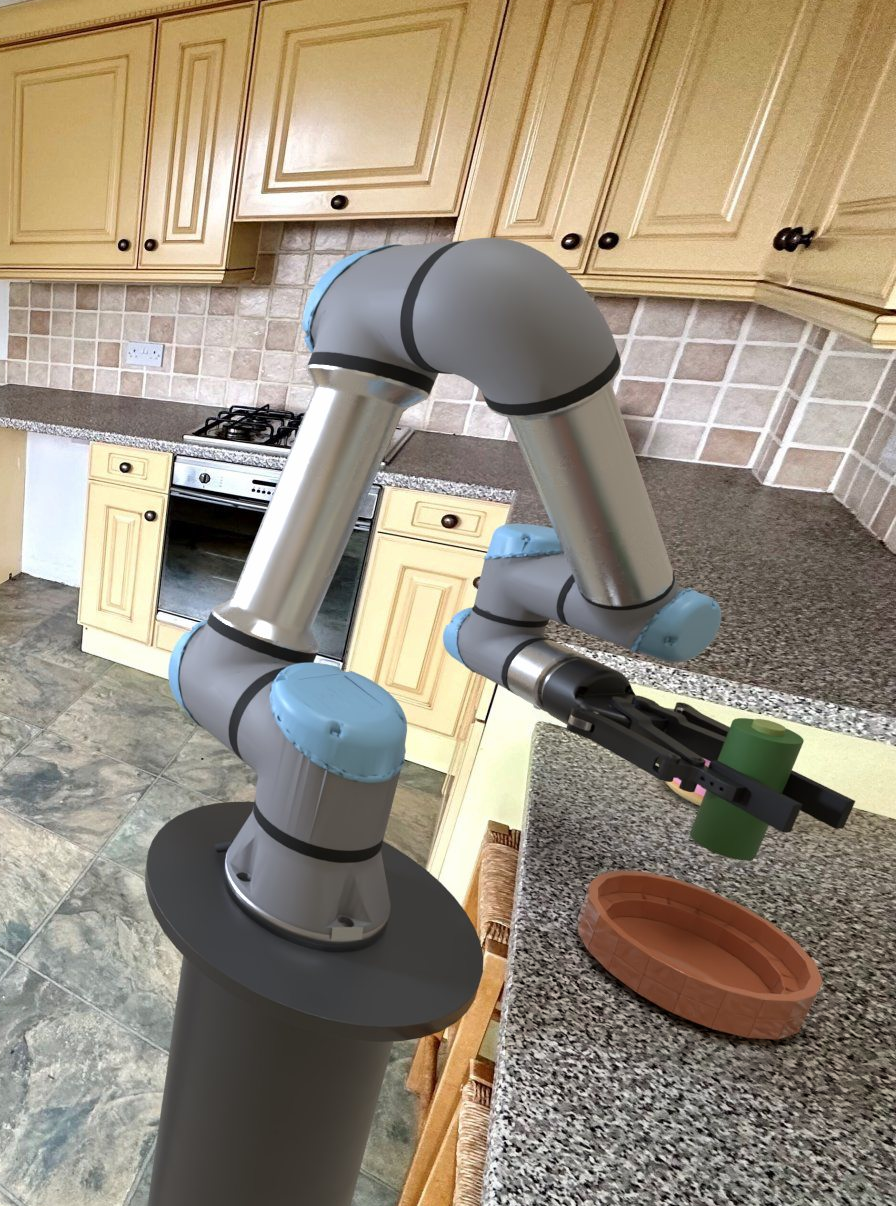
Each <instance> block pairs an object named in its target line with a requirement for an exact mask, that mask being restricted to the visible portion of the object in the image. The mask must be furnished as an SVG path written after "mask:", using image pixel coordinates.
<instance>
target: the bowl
mask: <svg viewBox="0 0 896 1206" xmlns="http://www.w3.org/2000/svg"><path fill="white" fill-rule="evenodd" d="M577 933H578V936H579V937H580V939H581V941H582V942H583V944H584V946H585V948H586V950H587V951H588V952H589V953H590V955H592V957H593V958H595V959H596V961H597V962H598V963H599V964H600V965H601V966H602V967H603V968H604V969H605V970H606V971H607V972H608V973H610V974H611V975H612V976H614V977H615V978H616V979H617V980H619V981H620V982H622V983H623V985H626V986H627V987H628V988H629V989H631V990H632V991H633V992H635V993H637V994H638V995H640V996H641V997H642V998H644V999H646V1000H648V1001H649V1002H651V1003H652V1004H654V1005H656V1006H657V1007H660V1008H661V1009H664V1010H665V1011H668V1012H670V1013H672V1014H673V1015H676V1016H678V1017H681V1018H683V1019H685V1020H687V1021H690V1022H692V1023H695V1024H698V1025H699V1026H703V1027H705V1028H708V1029H711V1030H715V1031H719V1032H723V1033H727V1034H731V1035H735V1036H739V1037H742V1038H745V1039H746V1038H747V1039H760V1040H762V1039H763V1040H782V1039H785V1038H787V1037H790V1036H793V1035H796V1034H798V1033H799V1032H800V1030H801V1029H802V1026H803V1024H804V1022H805V1020H806V1018H807V1016H808V1014H809V1012H810V1010H811V1008H812V1006H813V1004H814V1001H815V1000H816V997H817V995H818V993H819V991H820V989H821V987H822V985H823V978H822V976H821V973H820V971H819V968H818V965H817V963H816V962H815V961H814V960H813V959H812V957H811V955H809V954H808V953H807V952H806V950H805V949H804V948H803V947H802V946H801V945H800V944H799V943H798V942H797V941H796V940H795V939H794V938H792V937H791V936H790V935H788V934H787V933H786V932H784V931H783V930H782V929H780V928H779V927H778V926H777V925H775V924H774V923H773V922H771V921H769V920H767V919H766V918H764V917H763V916H761V915H759V914H757V913H756V912H754V911H753V910H751V909H749V908H747V907H746V906H743V905H742V904H739V903H738V902H736V901H733V900H731V899H729V898H727V897H725V896H722V895H720V894H718V893H716V892H713V891H711V890H709V889H707V888H705V887H701V886H698V885H696V884H692V883H689V882H686V881H683V880H680V879H677V878H674V877H671V876H667V875H661V874H658V873H657V874H656V873H652V872H646V871H641V870H639V871H638V870H618V869H617V870H612V871H608V872H604V873H603V872H602V873H600V874H598V875H597V876H596V877H595V878H594V879H593V880H592V881H590V882H589V884H588V887H587V889H586V892H585V896H584V898H583V901H582V904H581V907H580V910H579V913H578V916H577Z"/></svg>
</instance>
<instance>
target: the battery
mask: <svg viewBox="0 0 896 1206" xmlns="http://www.w3.org/2000/svg"><path fill="white" fill-rule="evenodd" d="M729 727H730V729H729V731H728V734H727V737H726V739H725V742H724V745H723V747H722V750H721V753H720V755H719V758H718V760H717V761H719V762H721V763H723V764H725V765H727V766H729V767H731V768H733V769H735V770H737V771H739V772H741V773H743V774H745V775H746V776H748V777H750V778H752V779H754V780H756V781H758V782H760V783H762V784H764V785H766V786H768V787H770V788H772V789H773V790H775V791H777V792H779V793H781V794H782V793H783V790H784V788H785V785H786V783H787V781H788V778H789V776H790V773H791V771H792V770H793V769H794V766H795V764H796V761H797V759H798V756H799V754H800V751H801V750H802V747H803V744H804V742H805V739H804V738H803V737H802V736H801V735H800V734H799V733H797V732H795V731H793V730H790V729H788V728H786V726H784V725H782V724H780V723H778V722H775V721H772V720H769V719H765V718H746V717H739V718H734V719H733V720H732V721H731V724H730V726H729ZM769 826H770V825H768V824H767V823H765V822H763V821H761V820H759V819H758V818H756V817H754V816H752V815H750V814H749V813H747V812H745V811H743V810H742V809H740V808H738V807H736V806H734V805H733V804H731V803H729V802H727V801H725V800H724V799H722V798H720V797H718V796H716V795H715V794H713V793H711V792H709V791H708V790H706V792H705V795H704V797H703V800H702V802H701V805H700V806H699V809H698V811H697V812H696V816H695V818H694V821H693V824H692V826H691V829H690V831H689V835H690V837H691V839H692V840H693V841H694V842H695V843H696V844H698V845H699V846H701V847H702V848H704V849H706V850H708V851H710V852H712V853H714V854H716V855H719V856H722V857H724V858H728V859H732V860H737V861H753V860H754V859H756V857H757V855H758V852H759V850H760V847H761V845H762V843H763V841H764V838H765V836H766V833H767V830H768V828H769Z"/></svg>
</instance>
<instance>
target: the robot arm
mask: <svg viewBox="0 0 896 1206" xmlns="http://www.w3.org/2000/svg"><path fill="white" fill-rule="evenodd" d="M301 322H302V323H301V325H302V326H301V327H302V331H304V332H305V334H306V335H305V336H304V337H303V339H304V343H305V345H306V347H307V349H308V350H309V352H310V353H311V355H310V357H309V360H308V362H307V365H306V368H305V371H306V373H307V375H308V376H309V379H310V380H311V383H312V384H313V393H312V395H311V397H310V399H309V402H308V405H307V407H306V410H305V412H304V414H303V417H302V420H301V422H300V425H299V427H298V429H297V432H296V435H295V437H294V440H293V442H292V445H291V447H290V450H289V452H288V455H287V456H286V457H287V458H286V460H285V463H284V465H283V467H282V470H281V473H280V475H279V478H278V480H277V483H276V485H275V488H274V491H273V493H272V496H271V497H270V501H269V503H268V506H267V508H266V510H265V513H264V516H263V518H262V520H261V523H260V526H259V528H258V531H257V533H256V536H255V538H254V541H253V542H252V546H251V548H250V551H249V553H248V556H247V558H246V560H245V563H244V566H243V569H242V571H241V573H240V576H239V578H238V581H237V584H236V586H235V588H234V591H233V594H232V596H231V598H230V599H228V600H227V601H224V602H222V603H220V604H218V605H215V606H213V607H212V609H211V610H210V613H209V614H208V618H207V619H205V620H202V621H199V622H197V623H195V624H194V625H192V626H191V628H192V629H191V630H189V631H185V632H184V633H183V634H182V635H181V636H180V637H179V639H178V640H177V642H176V644H175V645H174V647H173V649H172V652H171V654H170V657H169V663H168V669H167V671H168V673H167V674H168V675H167V677H168V683H169V688H170V691H171V693H172V696H173V697H174V699H175V701H176V702H177V704H178V705H179V707H181V708H182V709H183V710H184V711H185V712H186V713H187V715H188V717H189V718H190V719H191V720H192V721H193V722H194V723H195V724H196V725H197V726H199V727H201V728H202V729H203V730H204V731H207V732H208V733H209V734H210V735H211V736H213V737H214V738H215V739H216V740H217V741H219V743H221V744H222V745H223V746H225V747H226V748H227V749H228V750H229V751H231V752H232V753H233V754H234V755H236V757H237V758H238V759H240V760H241V761H242V762H243V763H245V764H246V765H247V766H248V767H250V769H251V770H253V772H255V774H256V776H257V782H256V788H255V794H254V801H253V802H254V806H253V811H252V813H251V815H250V816H249V818H248V819H247V821H246V822H245V824H244V825H243V827H242V829H241V830H240V832H239V833H238V835H237V836H236V838H235V839H234V841H229V842H224V843H218V844H215V847H214V848H215V851H216V852H217V853H221V852H227V854H226V859H225V866H224V872H223V877H224V883H225V886H226V889H227V891H228V893H229V895H230V896H231V898H232V899H233V901H234V902H235V904H236V905H237V906H238V907H239V908H240V909H241V910H242V911H243V912H244V913H245V914H246V915H247V916H248V917H249V918H250V919H252V920H253V921H254V922H256V923H257V924H258V925H260V926H261V927H263V928H264V929H266V930H268V931H270V932H271V933H273V934H275V935H277V936H279V937H281V938H283V939H286V940H288V941H290V942H293V943H296V944H299V945H302V946H305V947H309V948H313V949H318V950H324V951H335V952H345V951H355V950H359V949H363V948H366V947H368V946H370V945H372V944H374V943H375V942H377V941H378V940H379V939H380V938H381V937H382V935H383V934H384V932H385V930H386V926H387V922H388V918H389V914H390V908H391V904H390V898H389V893H388V887H387V882H386V876H385V871H384V865H383V859H382V854H381V848H382V844H383V841H384V839H385V835H386V831H387V828H388V823H389V819H390V815H391V811H392V808H393V804H394V799H395V796H396V795H395V794H396V792H397V787H398V782H399V779H400V774H401V771H402V769H403V766H404V764H405V761H406V760H405V759H406V751H407V750H406V749H407V748H406V742H407V741H406V740H407V736H408V721H407V717H406V715H405V712H404V710H403V707H402V706H401V705H400V703H399V702H398V701H397V699H396V698H395V697H394V696H393V695H392V694H391V693H390V692H389V691H387V690H386V689H385V688H384V687H382V686H381V685H380V684H378V683H376V682H375V681H373V680H372V679H370V678H368V677H366V676H364V675H362V674H360V673H357V672H355V671H352V670H350V671H344V670H342V669H341V668H340V666H336V665H331V664H327V663H320V662H315V660H316V658H317V656H318V653H319V650H320V645H319V643H318V641H317V639H316V638H315V635H314V634H313V625H314V623H315V620H316V617H317V615H318V613H319V611H320V609H321V606H322V604H323V602H324V599H325V597H326V594H327V592H328V590H329V588H330V585H331V582H332V580H333V579H334V575H335V573H336V571H337V569H338V566H339V564H340V562H341V559H342V557H343V554H344V552H345V550H346V548H347V545H348V543H349V540H350V538H351V535H352V533H353V532H354V528H355V526H356V524H357V522H358V519H359V517H360V515H361V512H362V511H363V508H364V505H365V503H366V500H367V498H368V496H369V494H370V491H371V489H372V487H373V484H374V482H375V480H376V477H377V475H378V472H379V470H380V468H381V465H382V463H383V460H384V458H385V457H386V454H387V452H388V450H389V447H390V444H391V441H392V440H393V438H394V435H395V432H396V431H397V427H398V425H399V423H400V421H401V418H402V415H403V413H404V412H405V411H407V410H408V409H409V408H412V407H414V406H416V405H418V404H420V403H422V402H424V401H427V400H428V398H429V396H430V395H431V392H432V390H433V387H434V385H435V383H436V381H437V378H438V376H439V374H443V375H456V376H459V377H461V378H463V379H466V380H467V381H469V382H470V383H471V384H473V385H474V386H475V387H477V389H479V390H480V392H481V394H482V396H483V397H482V398H483V399H484V402H485V404H486V406H487V408H488V409H489V410H490V411H491V412H492V413H494V414H497V415H499V416H501V417H505V418H507V421H508V423H509V425H510V428H511V430H512V432H513V435H514V437H515V440H516V442H517V444H518V447H519V449H520V452H521V454H522V457H523V459H524V461H525V464H526V466H527V468H528V471H529V473H530V475H531V478H532V481H533V483H534V485H535V488H536V490H537V492H538V494H539V497H540V500H541V502H542V505H543V507H544V509H545V512H546V514H547V516H548V518H549V521H550V524H551V526H552V527H548V526H545V525H543V526H542V525H538V524H529V523H507V524H502V525H500V526H498V527H496V528H495V530H494V531H493V533H492V536H491V539H490V542H489V546H488V549H487V551H486V555H484V557H483V564H482V568H481V573H480V577H479V581H478V585H477V591H476V595H475V598H474V603H473V606H472V607H468V608H464V609H461V610H459V611H458V612H456V613H455V614H454V615H453V616H452V617H451V621H450V622H449V623H448V624H446V625H445V627H444V629H443V634H442V642H443V646H444V649H445V651H446V652H447V654H448V655H449V656H450V657H451V658H453V659H455V660H456V661H457V662H459V663H460V664H461V665H463V666H464V667H465V668H466V669H467V670H469V671H470V672H472V673H475V674H477V675H478V676H482V677H484V678H485V679H487V680H489V681H491V682H493V683H495V684H496V685H498V686H500V687H502V688H504V689H505V690H507V692H508V691H509V692H510V693H512V694H513V695H516V696H517V697H519V698H521V699H523V701H526V702H527V703H529V704H531V705H532V707H533V709H536V710H539V711H541V710H542V711H543V712H545V713H547V714H549V716H551V717H552V718H554V719H556V720H558V721H560V722H562V723H564V724H565V725H566V727H565V728H566V730H567V731H568V732H570V733H573V734H575V735H578V736H580V737H583V738H585V739H587V740H589V741H592V742H593V743H595V744H596V745H598V746H600V747H602V748H604V749H605V750H606V751H607V750H608V751H609V752H610V753H612V754H614V755H616V756H617V757H619V758H621V759H623V760H625V761H627V762H629V763H630V764H632V765H634V766H635V767H637V768H639V769H641V770H643V771H644V772H646V773H648V774H649V775H651V776H653V777H654V778H657V779H659V780H661V781H663V782H665V781H666V782H672V781H673V779H674V778H678V779H679V780H681V783H680V786H679V788H680V789H682V790H684V791H687V792H695V789H696V787H697V784H698V785H700V786H701V787H702V788H704V789H706V790H708V791H709V792H711V793H713V794H715V795H716V796H718V797H720V798H722V799H724V800H725V801H727V802H729V803H731V804H733V805H734V806H736V807H738V808H740V809H742V810H743V811H745V812H747V813H749V814H750V815H752V816H754V817H756V818H758V819H759V820H761V821H763V822H765V823H767V824H768V825H769V826H770V827H772V828H774V829H775V830H777V831H779V832H781V833H792V830H793V828H794V825H795V823H796V821H797V818H798V816H799V814H800V812H802V813H805V814H807V816H810V817H812V818H814V819H817V820H818V821H820V822H821V823H823V824H825V825H827V826H829V827H830V828H833V829H835V830H839V829H840V830H841V829H844V828H845V825H846V823H847V821H848V819H849V817H850V814H851V813H852V810H853V808H854V806H855V803H856V800H855V799H853V798H851V797H848V796H846V795H844V794H842V793H840V792H839V791H836V790H834V789H831V788H830V787H828V786H826V785H824V784H821V783H820V782H817V781H816V780H813V779H812V778H809V777H807V776H805V775H803V774H801V773H799V772H797V771H795V770H793V769H792V771H791V773H790V776H789V778H788V781H787V783H786V785H785V788H784V790H783V793H782V794H781V793H779V792H777V791H775V790H773V789H772V788H770V787H768V786H766V785H764V784H762V783H760V782H758V781H756V780H754V779H752V778H750V777H748V776H746V775H745V774H743V773H741V772H739V771H737V770H735V769H733V768H731V767H729V766H727V765H725V764H723V763H721V762H719V761H717V760H718V758H719V755H720V753H721V750H722V747H723V745H724V742H725V739H726V737H727V734H728V731H729V729H730V726H729V725H726V724H724V723H722V722H720V721H718V720H717V719H715V718H712V717H710V716H708V715H705V714H704V713H702V712H700V711H699V710H698V709H696V708H695V707H693V706H692V705H690V704H688V703H686V702H681V701H678V702H676V703H675V706H674V708H671V707H670V708H669V707H664V706H662V705H660V704H659V703H658V702H656V701H655V700H653V699H650V698H647V697H646V696H643V695H637V694H636V693H635V692H634V689H633V687H632V685H631V682H630V680H629V679H628V678H627V676H626V675H625V674H623V673H622V672H620V671H619V670H616V669H615V668H612V667H610V666H609V665H606V664H604V663H601V662H599V661H597V660H595V659H592V658H590V657H588V656H587V655H586V654H584V653H581V652H579V651H577V650H574V649H573V648H570V647H568V646H566V645H564V644H562V643H559V642H557V641H554V640H552V639H550V638H548V637H547V636H545V632H546V629H547V626H548V625H549V622H550V620H551V621H553V622H556V623H559V624H562V625H564V626H568V627H569V628H573V629H575V630H577V631H581V632H583V633H585V634H589V635H590V636H594V637H596V638H599V639H601V640H603V641H604V640H605V642H606V641H607V642H608V643H612V644H614V645H617V646H619V647H622V648H625V649H627V650H630V651H631V652H632V653H635V654H642V655H644V656H648V657H650V658H654V659H657V660H660V661H663V662H665V663H666V662H667V663H672V664H679V663H685V662H688V661H690V660H693V659H694V658H697V657H698V656H699V655H700V654H701V653H702V652H703V651H705V650H706V649H707V648H708V647H709V646H710V644H712V642H713V641H714V639H715V637H716V636H717V634H718V632H719V630H720V627H721V622H722V609H721V606H720V604H719V603H718V602H717V600H715V599H714V598H712V597H711V596H709V595H707V594H704V593H701V592H698V591H696V589H694V588H691V587H682V586H680V585H679V584H678V581H677V578H676V575H675V573H674V571H673V567H672V564H671V563H672V562H671V561H670V558H669V555H668V551H667V548H666V546H665V545H666V544H665V543H664V539H663V536H662V533H661V530H660V527H659V524H658V521H657V517H656V515H655V511H654V508H653V506H652V502H651V500H650V497H649V494H648V490H647V488H646V485H645V482H644V479H643V475H642V473H641V470H640V469H641V468H640V467H639V463H638V460H637V457H636V454H635V452H634V451H635V450H634V447H633V445H632V442H631V439H630V436H629V433H628V430H627V427H626V423H625V421H624V418H623V414H622V411H621V408H620V406H619V403H618V399H617V397H616V394H615V393H616V392H615V391H614V386H613V384H612V383H613V382H614V381H615V380H616V378H617V377H618V376H619V374H620V371H621V368H622V360H621V356H620V353H619V351H618V347H617V343H616V342H615V341H616V340H615V338H614V335H613V332H612V330H611V327H610V326H609V324H608V323H607V320H606V318H605V316H604V314H603V312H602V311H601V310H600V309H599V307H598V305H597V304H596V303H595V301H594V300H593V299H592V297H591V295H590V294H588V291H586V290H585V289H584V287H583V286H582V284H581V283H579V281H578V280H577V279H575V277H574V276H573V275H571V273H570V272H568V271H567V270H566V269H565V268H564V267H563V266H562V265H561V264H560V263H558V262H556V261H555V260H554V259H552V258H551V257H550V256H549V255H547V254H546V253H544V252H543V251H541V250H538V249H536V248H534V247H532V246H531V245H528V244H525V243H523V242H521V241H516V240H512V239H508V238H499V237H478V238H470V239H467V240H456V241H444V242H443V241H442V242H430V243H429V242H428V243H418V244H417V243H416V244H407V245H406V244H405V245H404V244H400V243H396V244H385V245H382V246H378V247H374V248H372V249H366V250H361V251H357V252H354V253H352V254H349V255H348V256H346V257H344V258H343V259H341V260H339V261H337V262H336V263H334V264H333V265H332V266H331V267H330V268H329V269H327V270H326V272H325V273H324V274H323V275H322V276H321V277H320V278H319V279H318V281H317V282H316V283H315V285H314V287H313V289H312V290H311V292H310V294H309V295H308V298H307V301H306V303H305V306H304V310H303V315H302V321H301ZM703 758H704V759H706V760H708V761H710V764H709V767H708V766H706V765H705V763H706V760H704V759H703ZM666 782H665V783H666Z"/></svg>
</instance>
